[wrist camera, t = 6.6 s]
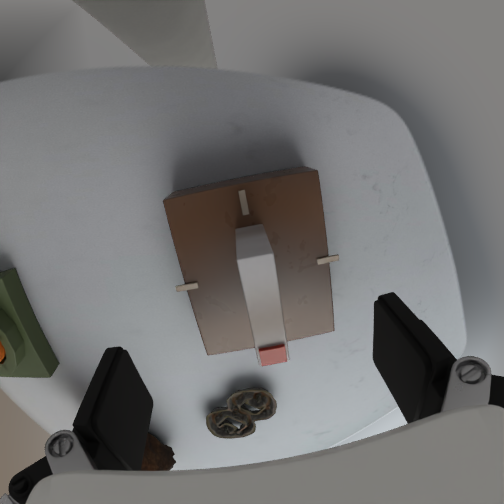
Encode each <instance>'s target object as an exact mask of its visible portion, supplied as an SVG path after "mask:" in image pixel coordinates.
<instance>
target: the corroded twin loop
mask: <svg viewBox="0 0 504 504" xmlns="http://www.w3.org/2000/svg"><path fill="white" fill-rule="evenodd" d="M246 401H247V402H246ZM226 402H227V407H221V408H216V409H214V410H213V411H212V412H211V413H210V414H209V415H208V416H207V417H206V424H207V427H208V429H209V431H210V432H211V433H212V434H213V435H214V436H217V437H219V438H240V437H245V436H248V435H250V434H252V433H254V432H255V428H256V426H255V423H254V422H255V421H258V420H265V419H269V418H271V417H272V416H273V415H274V414H275V413H276V407H277V403H276V400H275V399H274V398H273V396H272V395H271V394H270V393H269V392H268V391H267V390H264V389H263V388H248V389H243V390H238V391H235V392H234V393H233V394H232V395H231V396H230V397H229V398H228V399H227V401H226ZM245 402H246V403H245ZM243 403H245V404H248V405H250V406H252V407H255V408H257V409H261V410H255V411H251V410H249V409H247V408H245V407H244V406H242V404H243ZM226 418H231V419H233V420H235V421H238V422H240V423H242V425H240V429H238V427H236V426H234V425H232V423H231V422H229V421H224V420H225V419H226ZM223 421H224V422H223ZM221 422H222V423H221ZM220 423H221V424H220Z"/></svg>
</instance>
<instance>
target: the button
mask: <svg viewBox="0 0 504 504" xmlns="http://www.w3.org/2000/svg"><path fill="white" fill-rule="evenodd" d="M4 357H5V349H4V347H3V345H2V343H1V341H0V362H1V361H2V359H3V358H4Z"/></svg>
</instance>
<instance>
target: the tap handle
mask: <svg viewBox="0 0 504 504" xmlns="http://www.w3.org/2000/svg"><path fill="white" fill-rule="evenodd" d="M235 234H236V256H237V264H238V269H239V274H240V279H241V283H242V288H243V293H244V298H245V303H246V307H247V312H248V317H249V321H250V326H251V331H252V335H253V340H254V345H255V349H256V354H257V359H258V363H259V366H266V365H272V364H277V363H282V362H287V361H289V360H290V358H289V351H288V344H287V337H286V331H285V324H284V317H283V311H282V304H281V297H280V291H279V284H278V278H277V272H276V265H275V259H274V253H273V250H272V248H271V245H270V242H269V240H268V237H267V234H266V232H265V229H264V226H263V224H259V225H253V226H248V227H242V228H237V229H235Z"/></svg>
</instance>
